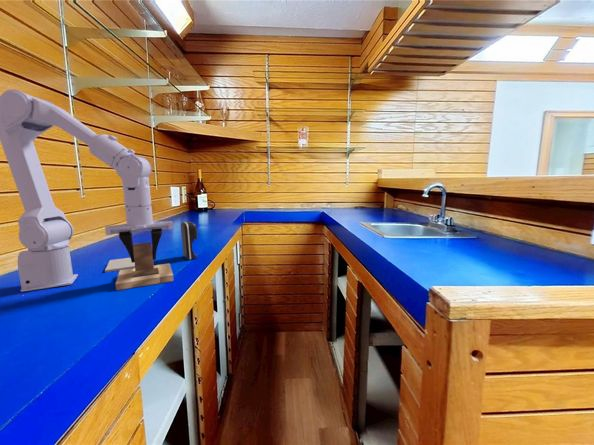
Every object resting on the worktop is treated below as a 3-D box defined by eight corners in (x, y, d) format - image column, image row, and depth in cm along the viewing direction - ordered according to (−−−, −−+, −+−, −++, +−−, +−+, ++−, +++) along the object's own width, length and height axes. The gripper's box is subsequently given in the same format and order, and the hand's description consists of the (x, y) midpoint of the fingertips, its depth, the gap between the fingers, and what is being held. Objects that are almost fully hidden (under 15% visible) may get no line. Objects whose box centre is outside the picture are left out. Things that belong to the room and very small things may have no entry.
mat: (105, 272, 81) (104, 270, 81) (110, 262, 92) (109, 260, 91) (153, 265, 86) (153, 263, 86) (152, 256, 97) (152, 254, 97)
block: (135, 271, 72) (132, 246, 71) (136, 266, 75) (133, 243, 74) (153, 268, 73) (151, 244, 73) (153, 264, 77) (151, 241, 76)
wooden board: (116, 290, 67) (115, 284, 67) (120, 275, 77) (119, 270, 77) (173, 280, 72) (173, 275, 72) (170, 268, 83) (169, 263, 82)
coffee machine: (200, 258, 93) (197, 222, 91) (187, 260, 91) (184, 223, 89) (195, 254, 99) (192, 220, 97) (183, 256, 97) (180, 221, 95)
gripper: (100, 209, 65) (108, 268, 67) (171, 205, 72) (176, 259, 74) (104, 207, 72) (111, 261, 74) (169, 203, 78) (174, 253, 80)
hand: (143, 260), depth 74 cm, fingers closed on block, 4 cm apart
